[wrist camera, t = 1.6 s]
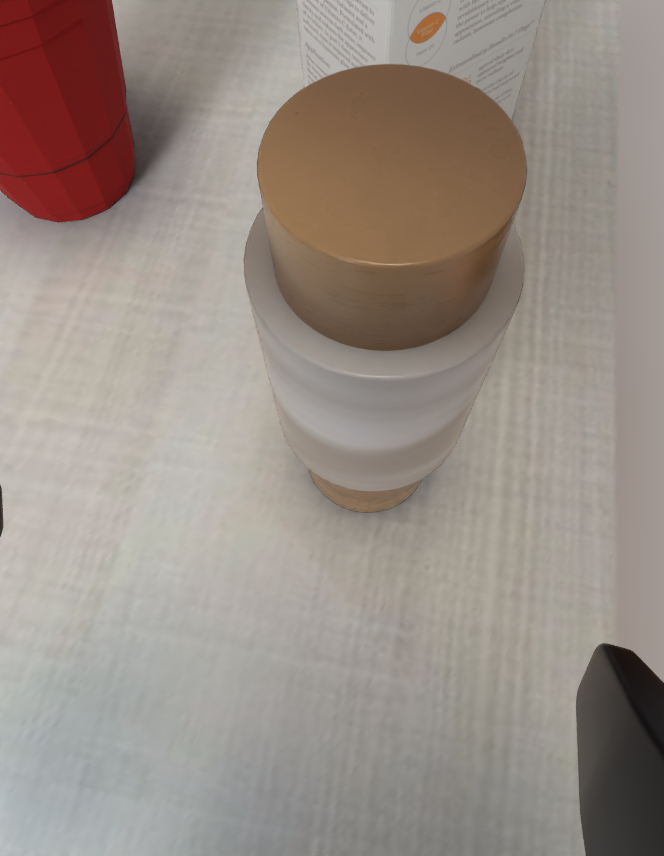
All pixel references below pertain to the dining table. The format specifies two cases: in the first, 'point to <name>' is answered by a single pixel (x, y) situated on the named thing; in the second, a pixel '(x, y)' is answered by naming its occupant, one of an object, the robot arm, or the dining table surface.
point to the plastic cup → (63, 108)
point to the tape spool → (383, 270)
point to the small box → (423, 39)
